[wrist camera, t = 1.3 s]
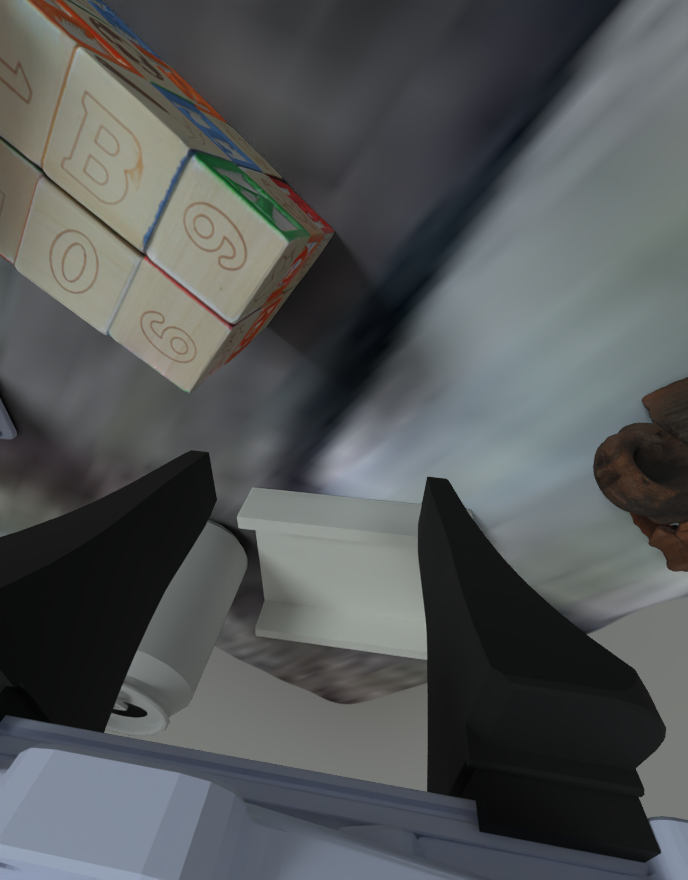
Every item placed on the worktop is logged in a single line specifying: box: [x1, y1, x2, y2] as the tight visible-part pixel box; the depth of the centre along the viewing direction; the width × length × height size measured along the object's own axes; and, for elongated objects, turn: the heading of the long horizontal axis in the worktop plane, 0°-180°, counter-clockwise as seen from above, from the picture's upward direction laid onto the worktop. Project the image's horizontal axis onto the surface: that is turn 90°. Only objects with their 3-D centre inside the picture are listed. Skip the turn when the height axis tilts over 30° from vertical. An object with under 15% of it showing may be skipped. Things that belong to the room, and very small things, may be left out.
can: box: [105, 520, 247, 736], centre depth 25 cm, size 8×8×12 cm
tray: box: [237, 487, 473, 660], centre depth 28 cm, size 15×13×3 cm
